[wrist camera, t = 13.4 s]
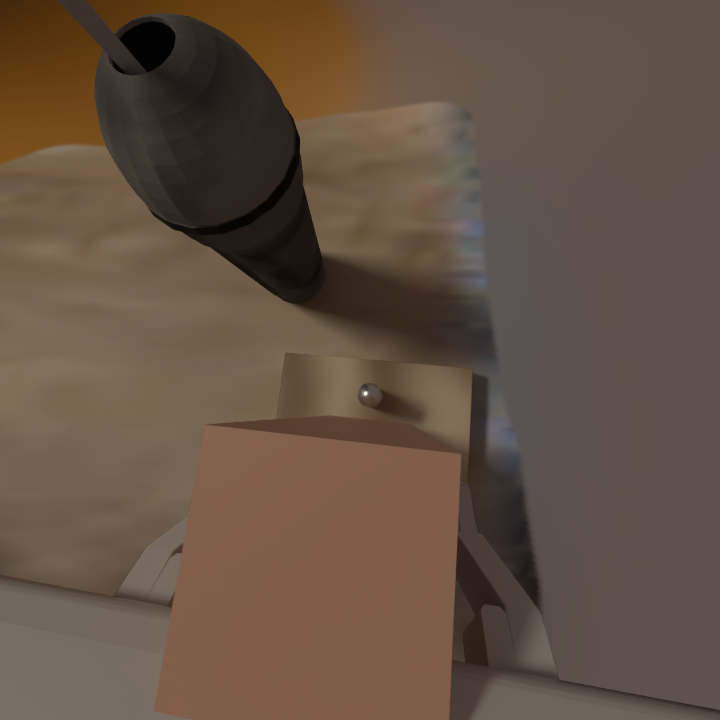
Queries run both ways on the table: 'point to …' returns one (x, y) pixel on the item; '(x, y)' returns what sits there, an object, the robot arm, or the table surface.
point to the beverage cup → (206, 144)
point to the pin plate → (381, 395)
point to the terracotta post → (315, 574)
